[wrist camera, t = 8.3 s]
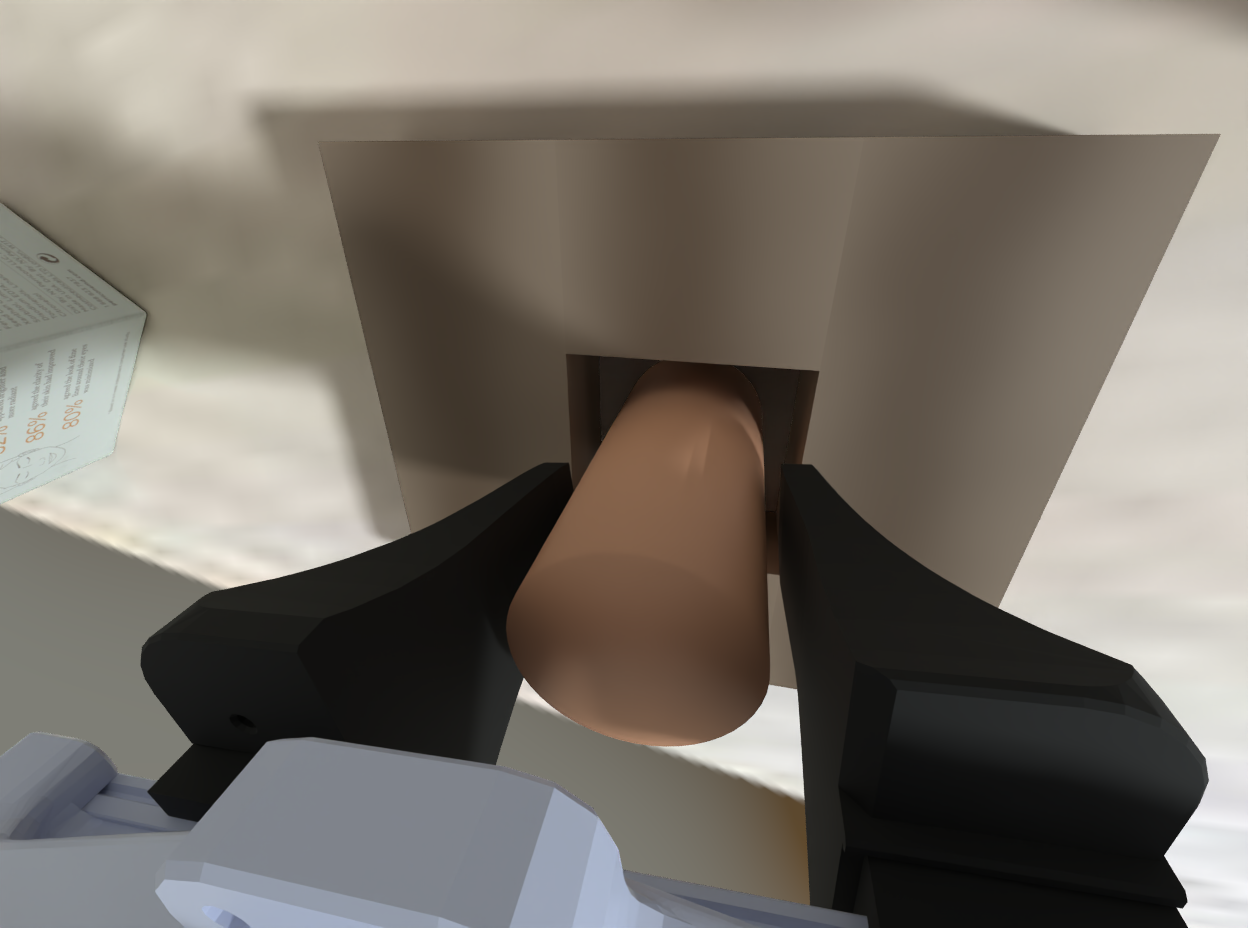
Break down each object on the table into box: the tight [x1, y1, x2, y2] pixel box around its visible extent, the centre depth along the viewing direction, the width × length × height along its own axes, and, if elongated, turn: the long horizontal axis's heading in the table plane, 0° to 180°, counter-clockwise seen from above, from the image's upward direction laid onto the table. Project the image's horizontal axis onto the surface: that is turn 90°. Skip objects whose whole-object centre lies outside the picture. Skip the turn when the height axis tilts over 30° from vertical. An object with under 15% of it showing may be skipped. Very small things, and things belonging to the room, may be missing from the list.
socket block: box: [318, 134, 1220, 689], centre depth 14 cm, size 16×14×3 cm
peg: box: [506, 360, 770, 746], centre depth 12 cm, size 4×4×9 cm
